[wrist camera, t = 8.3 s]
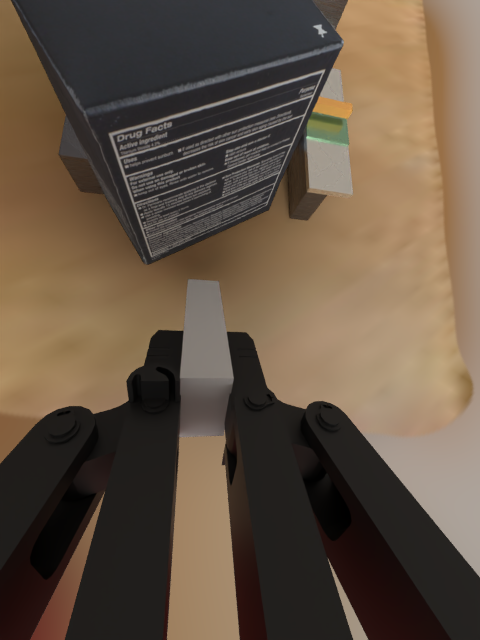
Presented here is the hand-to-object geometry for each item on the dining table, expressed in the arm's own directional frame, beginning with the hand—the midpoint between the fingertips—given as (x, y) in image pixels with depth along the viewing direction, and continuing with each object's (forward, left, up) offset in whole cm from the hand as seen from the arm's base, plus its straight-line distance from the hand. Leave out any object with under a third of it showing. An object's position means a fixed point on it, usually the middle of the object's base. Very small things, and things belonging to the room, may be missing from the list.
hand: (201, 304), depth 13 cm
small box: (-9, -1, -4) cm, 10 cm away
